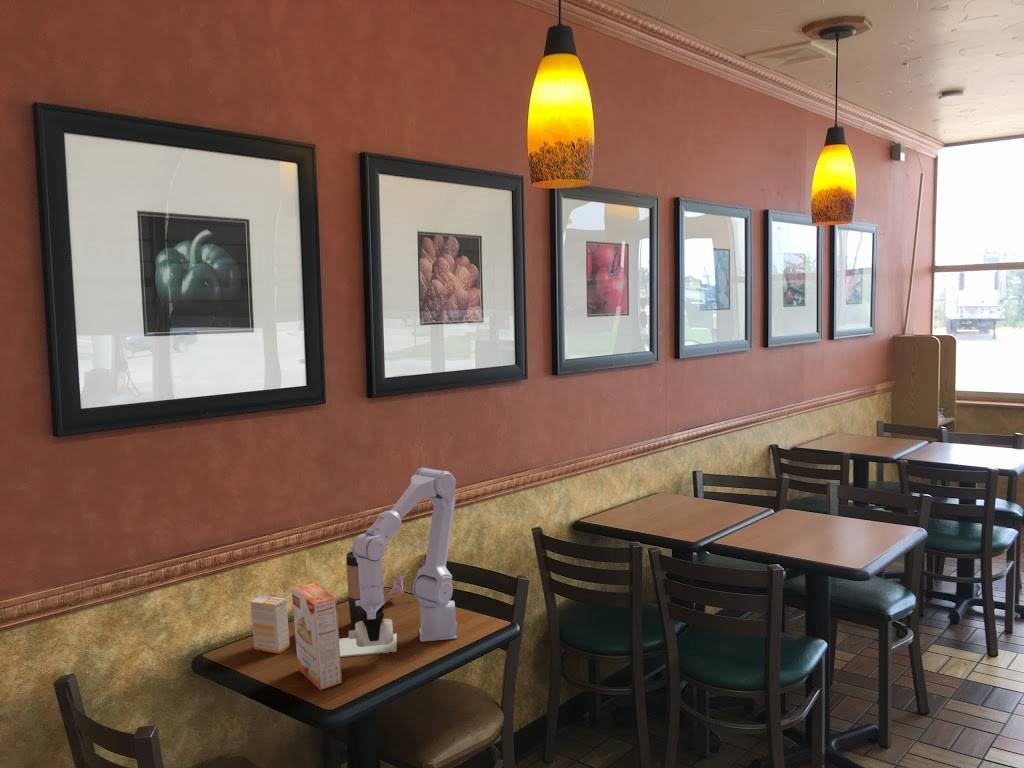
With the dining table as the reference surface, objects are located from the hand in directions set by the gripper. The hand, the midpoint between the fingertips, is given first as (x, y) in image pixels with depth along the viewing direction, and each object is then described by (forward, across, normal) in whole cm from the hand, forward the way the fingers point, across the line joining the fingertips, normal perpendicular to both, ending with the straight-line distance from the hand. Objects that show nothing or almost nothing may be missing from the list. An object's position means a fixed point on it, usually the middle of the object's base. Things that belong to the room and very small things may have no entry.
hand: (374, 636), depth 203 cm
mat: (+6, -10, -3) cm, 12 cm away
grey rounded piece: (+1, 0, 0) cm, 1 cm away
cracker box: (+6, +6, -13) cm, 16 cm away
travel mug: (+7, -25, -4) cm, 26 cm away
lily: (+7, -40, +5) cm, 41 cm away
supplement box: (+6, -14, -27) cm, 31 cm away
